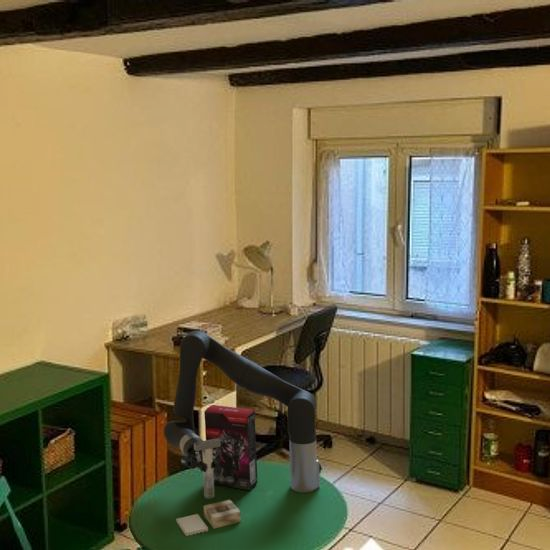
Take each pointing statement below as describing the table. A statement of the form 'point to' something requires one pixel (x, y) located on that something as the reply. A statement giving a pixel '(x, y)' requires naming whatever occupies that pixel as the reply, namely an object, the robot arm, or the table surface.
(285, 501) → the table surface
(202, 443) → the t key
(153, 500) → the table surface
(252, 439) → the graphics card box
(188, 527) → the beige flat plate
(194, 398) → the robot arm
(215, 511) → the slot block
